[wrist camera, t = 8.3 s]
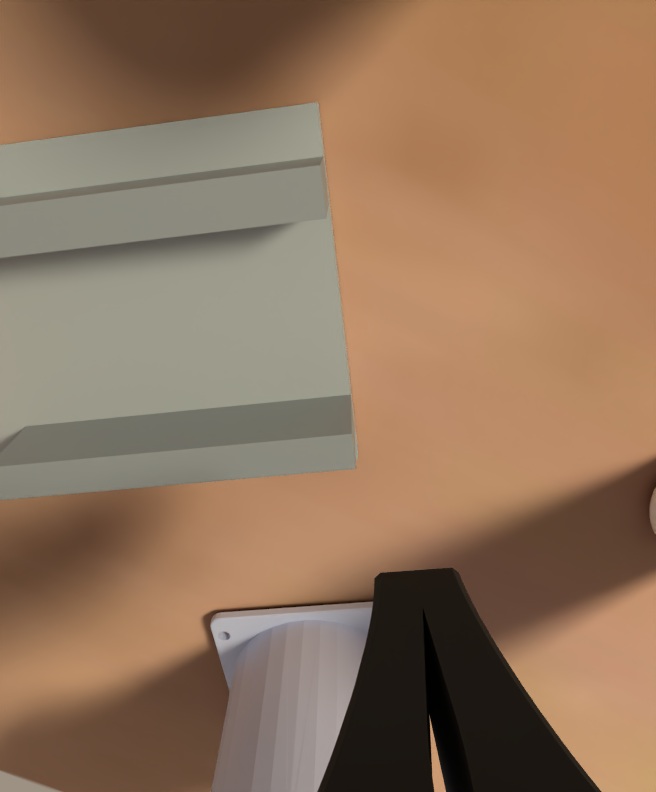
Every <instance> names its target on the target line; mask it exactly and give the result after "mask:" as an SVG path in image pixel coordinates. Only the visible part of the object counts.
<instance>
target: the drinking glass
mask: <svg viewBox="0 0 656 792" xmlns="http://www.w3.org/2000/svg"><path fill="white" fill-rule="evenodd" d="M649 515H650V522H651V526H652V529H653V531H654V533H655V535H656V487H655V489H654V491H653V494H652V497H651V501H650V507H649Z"/></svg>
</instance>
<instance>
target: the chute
mask: <svg viewBox="0 0 656 792" xmlns="http://www.w3.org/2000/svg"><path fill="white" fill-rule="evenodd" d="M356 459H358V446H357V436H356V427H355V418H354V409H353V401H352V392H351V383H350V374H349V366H348V357H347V348H346V339H345V330H344V322H343V313H342V304H341V295H340V287H339V278H338V269H337V260H336V251H335V243H334V234H333V225H332V216H331V208H330V199H329V190H328V181H327V172H326V164H325V155H324V146H323V137H322V128H321V120H320V111H319V102H316V103H308V104H301V105H293V106H286V107H279V108H271V109H264V110H257V111H249V112H242V113H234V114H227V115H220V116H212V117H205V118H197V119H190V120H183V121H175V122H168V123H160V124H153V125H146V126H138V127H131V128H123V129H116V130H109V131H101V132H94V133H87V134H79V135H72V136H64V137H57V138H50V139H42V140H35V141H27V142H20V143H13V144H5V145H0V499H1V500H9V499H20V498H31V497H43V496H54V495H65V494H76V493H88V492H99V491H110V490H122V489H133V488H144V487H156V486H167V485H178V484H190V483H201V482H212V481H224V480H235V479H246V478H258V477H269V476H280V475H292V474H303V473H314V472H326V471H337V470H348V469H356Z"/></svg>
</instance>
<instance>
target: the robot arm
mask: <svg viewBox="0 0 656 792" xmlns="http://www.w3.org/2000/svg"><path fill="white" fill-rule="evenodd" d="M210 628H211V631H212V635H213V638H214V641H215V645H216V648H217V651H218V655H219V658H220V661H221V665H222V668H223V672H224V675H225V678H226V682H227V685H228V688H229V692H230V694H229V700H228V705H227V710H226V715H225V721H224V726H223V731H222V737H221V742H220V747H219V752H218V758H217V763H216V768H215V773H214V779H213V784H212V789H211V792H434V787H433V780H432V762H431V740H430V719H431V724H432V728H433V733H434V738H435V742H436V747H437V751H438V756H439V761H440V765H441V770H442V774H443V779H444V784H445V788H446V792H601V791H600V789H599V788H598V787H597V786H596V784H595V783H594V782H593V781H592V780H591V778H590V777H589V776H588V775H587V773H586V772H585V771H584V769H583V768H582V767H581V766H580V764H579V763H578V762H577V760H576V759H575V758H574V757H573V755H572V754H571V753H570V751H569V750H568V749H567V747H566V746H565V745H564V743H563V742H562V741H561V739H560V738H559V737H558V735H557V734H556V733H555V731H554V730H553V728H552V727H551V726H550V724H549V723H548V721H547V720H546V719H545V717H544V716H543V715H542V713H541V712H540V710H539V709H538V708H537V706H536V705H535V703H534V702H533V700H532V699H531V697H530V696H529V695H528V693H527V692H526V690H525V689H524V687H523V686H522V684H521V683H520V681H519V680H518V678H517V676H516V675H515V673H514V672H513V670H512V669H511V667H510V666H509V664H508V663H507V661H506V659H505V658H504V656H503V655H502V653H501V652H500V650H499V648H498V647H497V645H496V644H495V642H494V640H493V639H492V637H491V635H490V633H489V632H488V630H487V628H486V626H485V625H484V623H483V621H482V620H481V618H480V616H479V614H478V612H477V610H476V609H475V607H474V605H473V603H472V601H471V599H470V597H469V595H468V593H467V591H466V589H465V587H464V584H463V582H462V580H461V577H460V575H459V573H458V572H457V571H456V570H454V569H453V568H443V569H429V570H415V571H401V572H387V573H380V574H379V575H378V576H377V577H376V578H375V584H374V599H373V602H360V603H346V604H332V605H318V606H304V607H290V608H276V609H262V610H248V611H234V612H221V613H217V614H215V615H214V616H213V617H212V619H211V623H210ZM225 632H227V633H225ZM429 714H430V718H429Z"/></svg>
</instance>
